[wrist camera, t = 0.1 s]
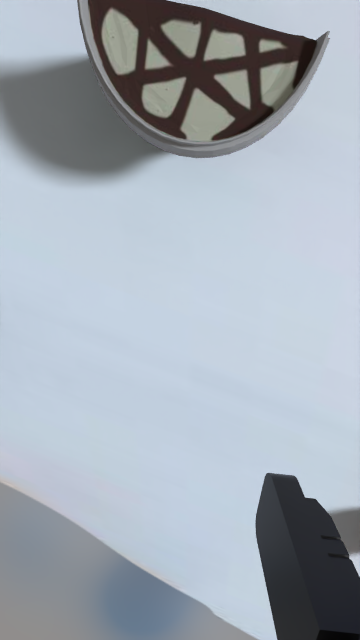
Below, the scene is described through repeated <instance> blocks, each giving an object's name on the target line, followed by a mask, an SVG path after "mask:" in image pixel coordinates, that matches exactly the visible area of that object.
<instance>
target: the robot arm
mask: <svg viewBox="0 0 360 640" xmlns="http://www.w3.org/2000/svg"><path fill="white" fill-rule="evenodd" d="M256 537H257V543H258V548H259V553H260V558H261V562H262V567H263V572H264V577H265V582H266V587H267V591H268V596H269V601H270V606H271V611H272V615H273V620H274V625H275V630H276V635H277V640H360V577H359V575H358V573H357V571H356V569H355V567H354V564H353V562H352V560H350V559H349V554H348V552H347V550H346V548H345V545H344V543H343V541H341V537H340V535H339V533H338V531H337V528H336V526H335V524H334V522H333V520H332V518H331V516H330V515H329V514H328V513H327V512H326V510H325V509H324V508H323V507H322V506H321V505H320V504H319V503H318V501H317V500H316V499H312V498H305V497H304V494H303V492H302V489H301V487H300V485H299V482H298V480H297V478H296V477H295V476H292V475H283V474H274V473H267V474H266V476H265V479H264V483H263V487H262V492H261V496H260V500H259V505H258V509H257V514H256Z"/></svg>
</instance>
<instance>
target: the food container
mask: <svg viewBox="0 0 360 640" xmlns="http://www.w3.org/2000/svg"><path fill="white" fill-rule="evenodd" d="M77 2H78V10H79V19H80V25H81V29H82V33H83V38H84V42H85V46H86V49H87V53H88V56H89V59H90V62H91V64H92V67H93V70H94V72H95V75H96V78H97V80H98V82H99V84H100V86H101V88H102V90H103V92H104V94H105V96H106V98H107V99H108V101H109V102H110V104H111V105H112V107H113V108H114V109H115V111H116V112H117V114H118V115H119V116H120V118H121V119H122V120H123V121H124V122H125V123H126V124H127V125H128V126H129V127H130V128H131V129H132V130H133V131H134V132H135V133H137V134H138V135H139V136H141V137H142V138H143V139H145V140H146V141H147V142H149V143H151V144H153V145H154V146H156V147H158V148H160V149H162V150H164V151H167V152H170V153H173V154H176V155H179V156H186V157H193V158H210V157H217V156H222V155H227V154H231V153H233V152H236V151H238V150H241V149H243V148H246V147H248V146H249V145H251V144H253V143H255V142H256V141H258V140H260V139H261V138H263V137H264V136H265V135H267V134H268V133H269V132H270V131H272V130H273V129H274V128H275V127H276V126H278V125H279V124H280V123H281V121H282V120H283V119H284V118H285V117H286V116H287V115H288V114H289V113H290V112H291V111H292V110H293V108H294V107H295V105H296V104H297V102H298V101H299V100H300V98H301V97H302V95H303V94H304V93H305V91H306V89H307V87H308V85H309V84H310V82H311V80H312V78H313V76H314V74H315V72H316V71H317V68H318V66H319V64H320V62H321V59H322V57H323V54H324V52H325V49H326V47H327V44H328V42H329V39H330V38H327V37H328V35H329V32H330V31H327V32H326V33H325V34H323V35H322V36H321V37H319V38H318V39H317V40H313V39H309V38H306V37H304V36H298V35H292V34H287V33H283V32H279V31H276V30H272V29H269V28H265V27H262V26H258V25H255V24H252V23H248V22H245V21H242V20H239V19H236V18H233V17H230V16H227V15H224V14H221V13H218V12H215V11H212V10H209V9H206V8H201V7H196V6H192V5H187V4H181V3H176V2H172V1H167V0H77Z"/></svg>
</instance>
